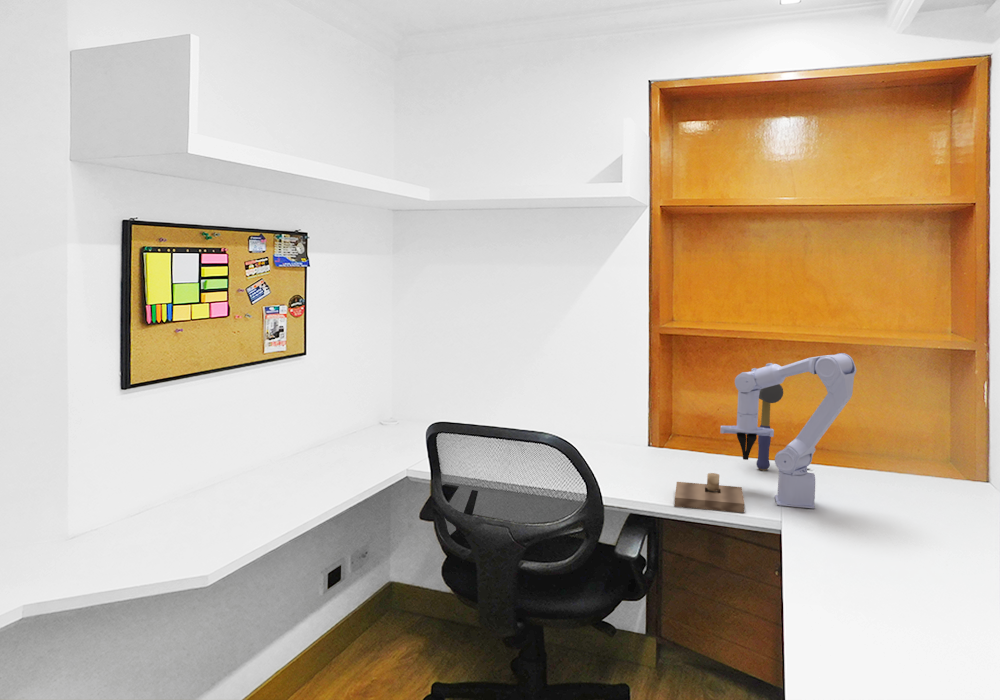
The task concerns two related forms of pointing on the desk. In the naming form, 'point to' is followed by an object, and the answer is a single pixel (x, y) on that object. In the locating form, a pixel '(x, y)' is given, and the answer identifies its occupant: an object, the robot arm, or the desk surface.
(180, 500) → the desk surface
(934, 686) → the desk surface
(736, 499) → the board
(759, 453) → the rubber mallet
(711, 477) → the peg
